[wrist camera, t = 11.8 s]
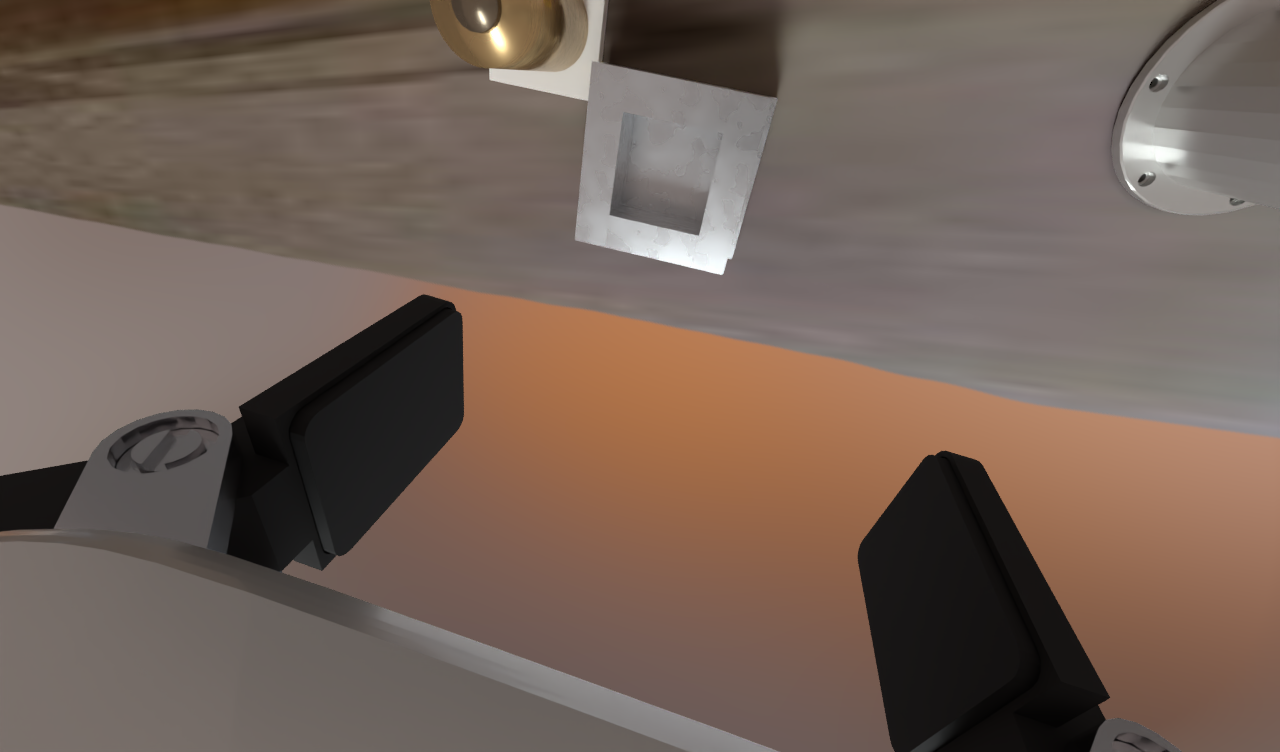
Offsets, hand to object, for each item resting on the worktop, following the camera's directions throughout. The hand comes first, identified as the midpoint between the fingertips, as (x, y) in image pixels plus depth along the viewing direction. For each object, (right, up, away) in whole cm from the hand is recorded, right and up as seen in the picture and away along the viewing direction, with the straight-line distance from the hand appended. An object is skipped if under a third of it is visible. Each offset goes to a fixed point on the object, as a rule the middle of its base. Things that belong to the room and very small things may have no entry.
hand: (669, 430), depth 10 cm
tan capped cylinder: (-7, +25, +23) cm, 34 cm away
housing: (+2, +17, +26) cm, 32 cm away
